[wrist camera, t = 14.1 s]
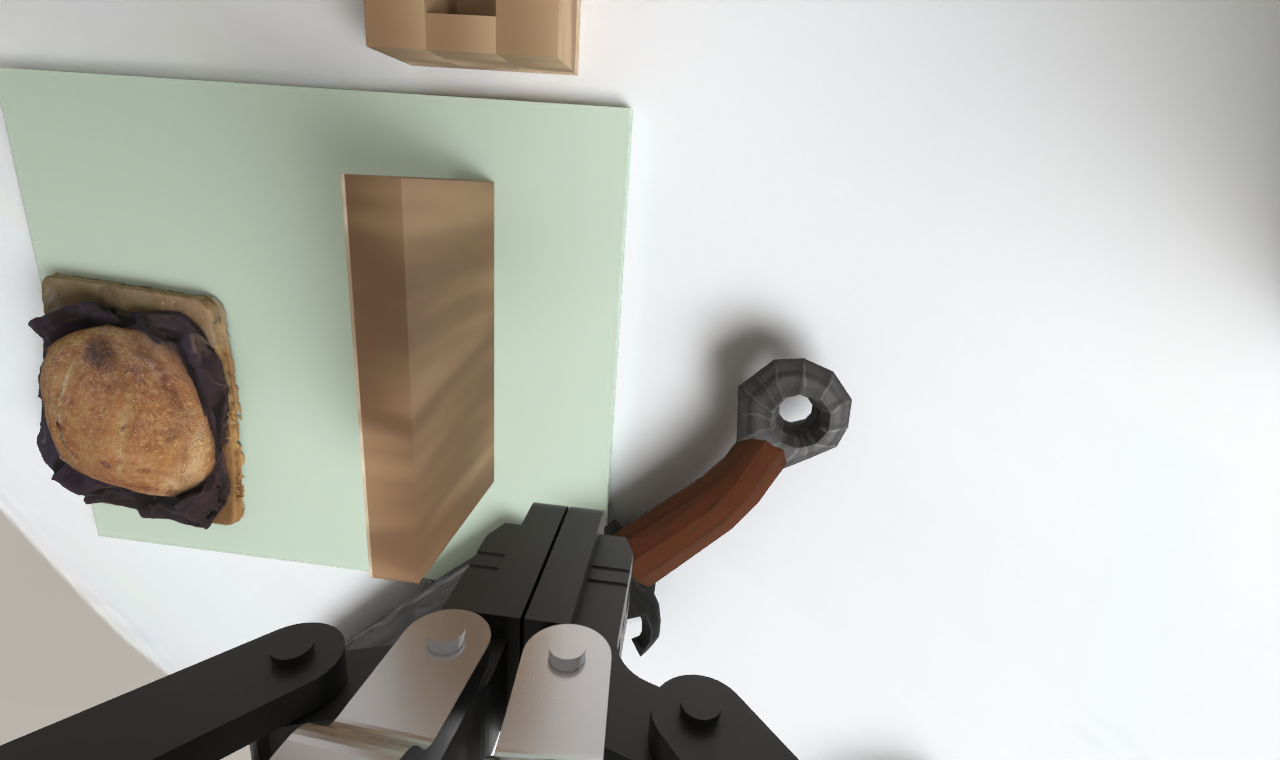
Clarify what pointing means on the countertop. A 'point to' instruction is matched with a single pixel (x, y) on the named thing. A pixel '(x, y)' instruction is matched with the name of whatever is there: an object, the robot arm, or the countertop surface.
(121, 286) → the bread roll
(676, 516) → the knife
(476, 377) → the board
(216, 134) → the mat
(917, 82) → the countertop surface
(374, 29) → the stand
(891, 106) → the countertop surface
